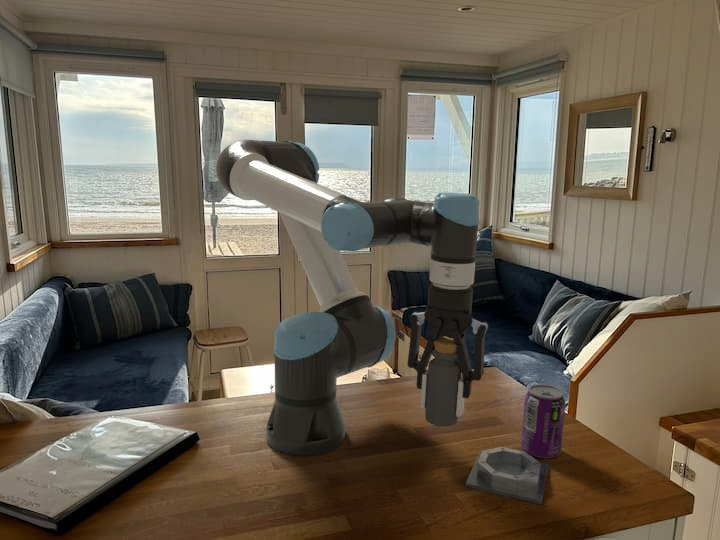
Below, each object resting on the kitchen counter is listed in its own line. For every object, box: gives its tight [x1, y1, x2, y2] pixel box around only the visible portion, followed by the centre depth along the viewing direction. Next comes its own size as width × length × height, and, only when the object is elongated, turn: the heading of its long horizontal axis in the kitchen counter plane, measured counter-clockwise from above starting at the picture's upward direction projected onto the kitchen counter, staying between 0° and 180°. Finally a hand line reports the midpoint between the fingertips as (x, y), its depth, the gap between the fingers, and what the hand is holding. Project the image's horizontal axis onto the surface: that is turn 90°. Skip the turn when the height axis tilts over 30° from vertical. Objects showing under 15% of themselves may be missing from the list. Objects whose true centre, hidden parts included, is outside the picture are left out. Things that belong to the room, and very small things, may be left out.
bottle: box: [424, 336, 462, 428], centre depth 100 cm, size 6×6×15 cm
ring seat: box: [465, 446, 550, 505], centre depth 96 cm, size 12×12×3 cm
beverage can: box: [520, 383, 566, 459], centre depth 103 cm, size 7×7×12 cm
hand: (441, 409), depth 101 cm, fingers closed on bottle, 6 cm apart
